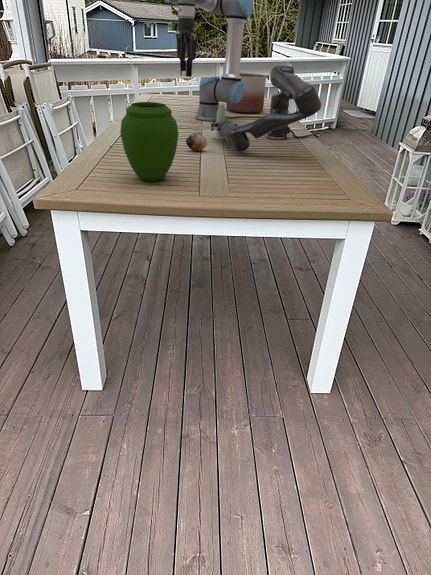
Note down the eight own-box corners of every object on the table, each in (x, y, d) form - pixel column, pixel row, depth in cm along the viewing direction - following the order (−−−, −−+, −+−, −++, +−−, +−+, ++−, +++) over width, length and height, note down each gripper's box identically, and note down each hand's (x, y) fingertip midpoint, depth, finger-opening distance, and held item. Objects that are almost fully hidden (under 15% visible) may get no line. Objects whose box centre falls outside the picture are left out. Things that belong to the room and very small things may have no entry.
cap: (183, 75, 198) (183, 70, 197) (191, 75, 197) (191, 71, 196) (180, 75, 195) (180, 71, 194) (188, 76, 194) (188, 72, 193)
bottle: (225, 139, 206) (227, 104, 197) (219, 139, 204) (220, 104, 195) (220, 137, 209) (222, 103, 200) (214, 138, 206) (215, 103, 198)
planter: (267, 114, 272) (271, 77, 261) (229, 113, 268) (232, 76, 257) (257, 108, 294) (260, 73, 282) (223, 107, 289) (224, 72, 278)
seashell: (206, 149, 186) (206, 130, 181) (207, 152, 181) (208, 133, 177) (185, 148, 184) (185, 130, 180) (186, 152, 180) (186, 133, 175)
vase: (131, 189, 135) (125, 110, 122) (118, 172, 150) (112, 100, 137) (186, 184, 142) (187, 109, 129) (169, 168, 157) (167, 99, 144)
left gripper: (168, 17, 187) (169, 74, 199) (191, 17, 176) (190, 78, 189) (182, 18, 191) (181, 74, 204) (204, 18, 180) (203, 77, 193)
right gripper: (213, 139, 191) (205, 131, 205) (242, 139, 195) (232, 131, 209) (214, 122, 187) (205, 115, 201) (243, 122, 191) (233, 115, 205)
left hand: (186, 75), depth 196 cm, fingers closed on cap, 4 cm apart
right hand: (219, 123), depth 205 cm, fingers closed on bottle, 4 cm apart
